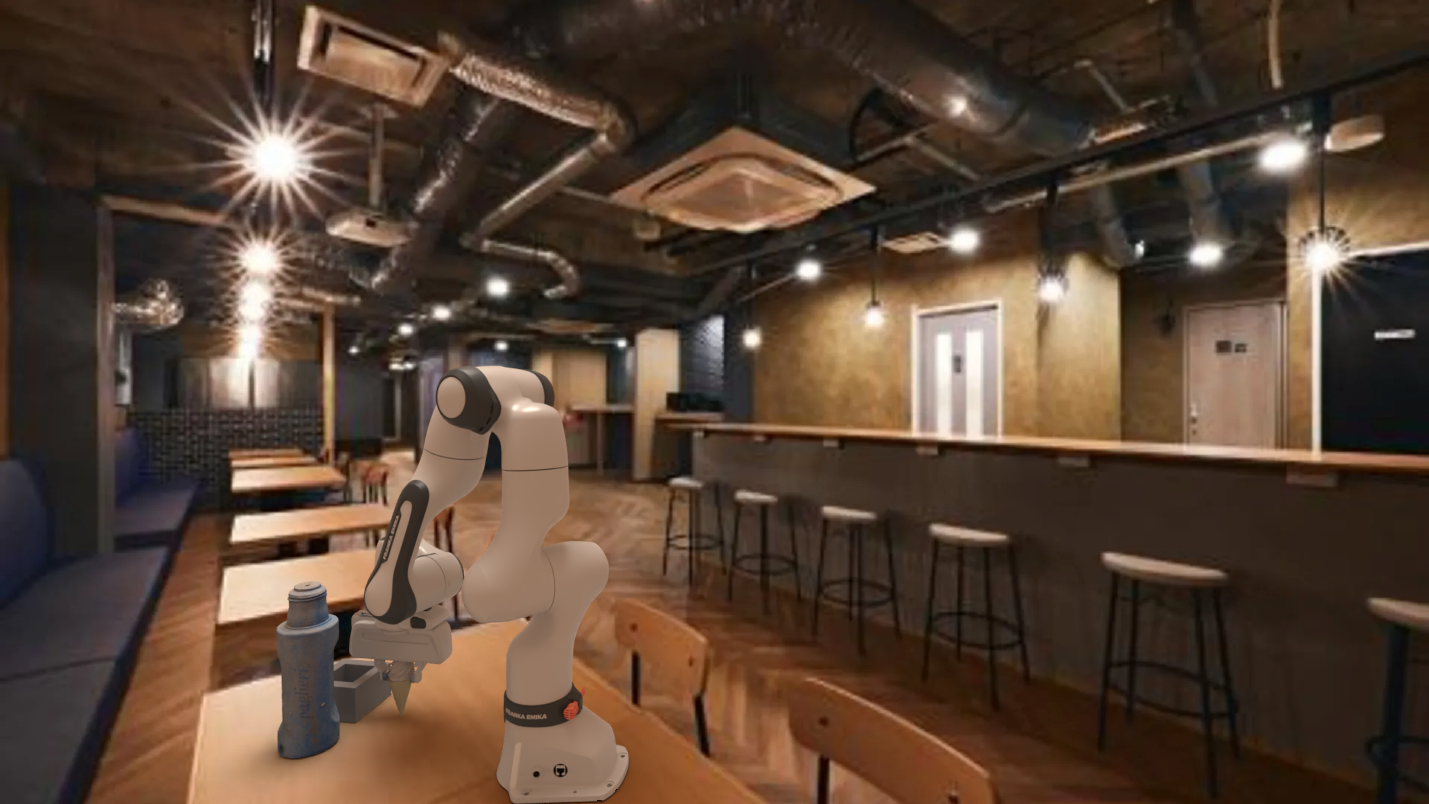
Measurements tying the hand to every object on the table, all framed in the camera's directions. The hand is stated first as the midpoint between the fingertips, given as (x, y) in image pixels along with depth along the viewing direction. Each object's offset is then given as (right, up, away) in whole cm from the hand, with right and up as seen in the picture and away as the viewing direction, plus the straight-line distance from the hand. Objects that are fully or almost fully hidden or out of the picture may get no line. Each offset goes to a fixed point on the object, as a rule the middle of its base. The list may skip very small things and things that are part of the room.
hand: (401, 680), depth 128 cm
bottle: (-12, -8, -10) cm, 17 cm away
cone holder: (-12, -7, +3) cm, 14 cm away
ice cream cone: (0, -7, 0) cm, 7 cm away
